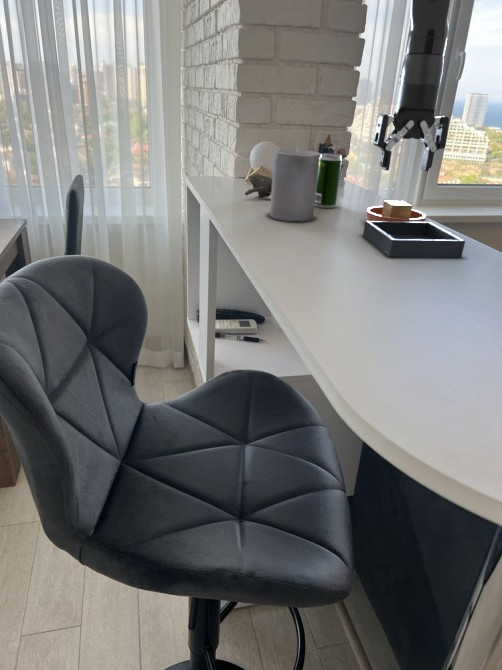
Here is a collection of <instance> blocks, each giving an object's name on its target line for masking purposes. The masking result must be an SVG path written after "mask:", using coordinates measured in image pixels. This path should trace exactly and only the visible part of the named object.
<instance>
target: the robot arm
mask: <svg viewBox="0 0 502 670" xmlns="http://www.w3.org/2000/svg"><path fill="white" fill-rule="evenodd" d="M450 3H451V0H410V22H409V29H408V33H407V39H406V46H405V52H404V58H403V61H402V65H401V68H400V69H401V71H400V75H399V84H398V90H397V96H396V102H395V111H394V114H393V115H390V114H387V113H380V114H379V115H378V117H377V121H376V127H375V133H374V136H373V137H374V138H373V145H374V146H375V147H378V148H380V149H381V154H380V160H379V166H380V167H381V169H382V170H383V171H389V170H390V165H391V158H392V153H393V152H392V149H393V148H394V146H395V145H396V144H398V143H399V142H400V141H401V140H402V139H404V140H410V139H414V140H420V142H421V143H422V145H423V146H424V151H423V155H422V161H421V167H420V170H421V171H422V172H429V171H430V169H431V168H432V166H433V161H434V156H435V153H436V151H439V150H444V149H445V148H446V145H447V138H448V132H449V125H450V117H449V116H445V115H439V116H435V111H436V108H437V104H438V99H439V98H438V97H439V92H440V87H441V81H442V76H443V71H444V59H445V58H444V56H445V53H446V52H445V51H446V47H447V42H448V41H447V40H448V35H449V20H448V17H449V16H448V14H449V9H450ZM391 123H392V125H393V127H394V128H393V130H392V131H391V132H390V133H389V134H388V136H387V138H386V133H387V128H388V127H390V125H391ZM433 126H434V127H435V129H436V130H435V137H433V135H432V132H431V131H430V129H432V127H433ZM385 138H386V139H385Z"/></svg>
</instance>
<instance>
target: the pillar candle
mask: <svg viewBox="0 0 502 670" xmlns="http://www.w3.org/2000/svg"><path fill="white" fill-rule="evenodd" d="M299 146H300V145H299V144H298V145H297V146H296V147H297V148H278V149H274V151H273V153H274V154H273V165H272V177H271V178H272V191H271V195H270V207H269V216H270V217H271V218H273V219H274V220H279V221H284V222H310V221H312V220H313V219H314V214H315V207H316V206H315V197H316V187H317V177H318V168H319V158H320V154H321V152H319V151H314V150H307V149H301V148H300V149H299Z"/></svg>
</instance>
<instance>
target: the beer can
mask: <svg viewBox="0 0 502 670" xmlns="http://www.w3.org/2000/svg"><path fill="white" fill-rule="evenodd" d="M342 160H343V159H342V155H341V154H338V153H325V152H324V153H323V152H322V153H320V158H319V168H318V177H317V187H316V197H315V207H317V208H320V209H335V207H336V206H337V202H338V201H337V200H338V193H339V187H340V179H341V178H340V176H341V169H342V168H341V167H342Z"/></svg>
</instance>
